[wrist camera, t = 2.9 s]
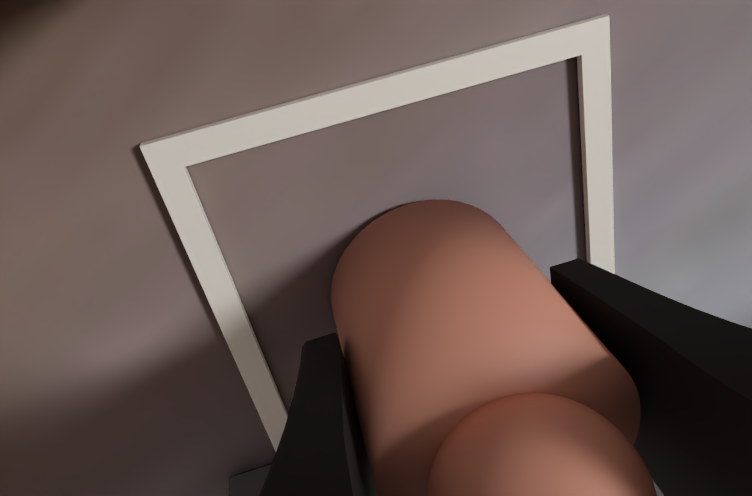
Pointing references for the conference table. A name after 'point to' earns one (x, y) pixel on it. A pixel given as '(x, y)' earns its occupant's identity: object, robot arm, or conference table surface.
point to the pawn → (477, 366)
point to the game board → (355, 102)
